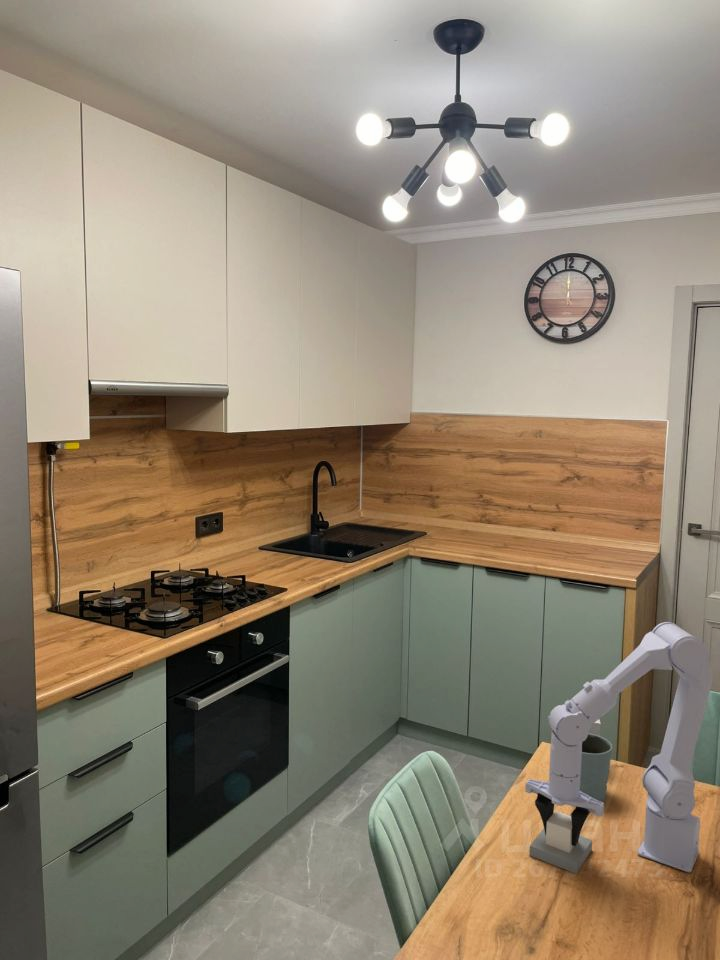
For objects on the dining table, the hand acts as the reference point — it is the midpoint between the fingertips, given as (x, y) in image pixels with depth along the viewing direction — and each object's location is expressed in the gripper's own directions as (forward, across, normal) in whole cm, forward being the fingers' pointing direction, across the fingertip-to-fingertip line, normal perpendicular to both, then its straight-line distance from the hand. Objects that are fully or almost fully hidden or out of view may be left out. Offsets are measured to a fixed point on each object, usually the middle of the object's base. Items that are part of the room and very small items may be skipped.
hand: (561, 838), depth 138 cm
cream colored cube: (+1, 0, 0) cm, 1 cm away
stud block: (+3, 0, 0) cm, 3 cm away
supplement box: (+3, -8, +36) cm, 37 cm away
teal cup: (+3, -3, +24) cm, 24 cm away
